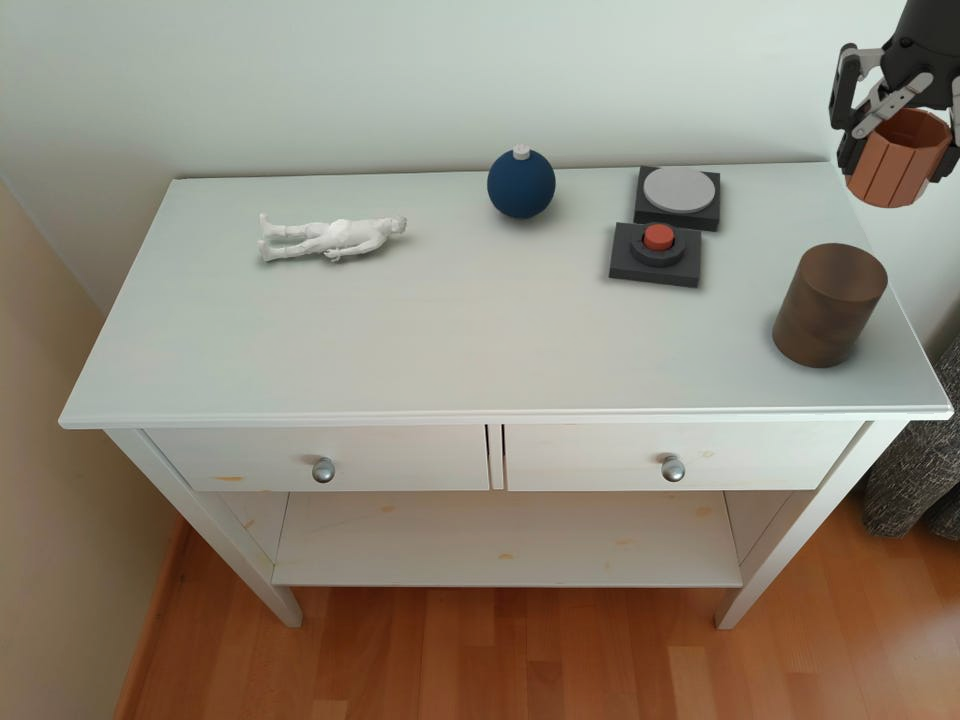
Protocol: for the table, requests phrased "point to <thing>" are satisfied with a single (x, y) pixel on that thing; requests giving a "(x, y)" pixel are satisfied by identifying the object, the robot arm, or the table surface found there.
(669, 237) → the button
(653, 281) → the red push button box
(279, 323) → the table surface
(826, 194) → the table surface
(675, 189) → the scale
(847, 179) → the orange wooden cup
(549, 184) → the christmas ornament
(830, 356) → the stand
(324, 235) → the figurine
